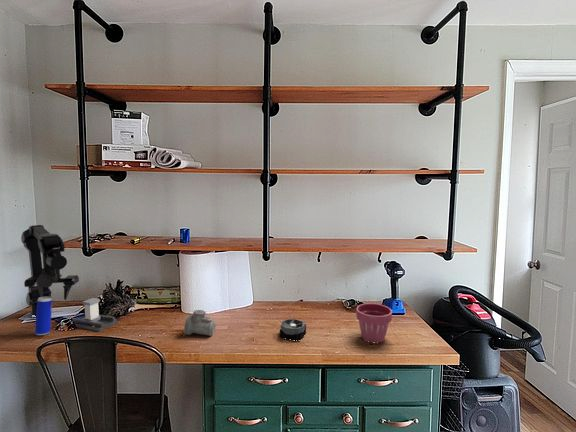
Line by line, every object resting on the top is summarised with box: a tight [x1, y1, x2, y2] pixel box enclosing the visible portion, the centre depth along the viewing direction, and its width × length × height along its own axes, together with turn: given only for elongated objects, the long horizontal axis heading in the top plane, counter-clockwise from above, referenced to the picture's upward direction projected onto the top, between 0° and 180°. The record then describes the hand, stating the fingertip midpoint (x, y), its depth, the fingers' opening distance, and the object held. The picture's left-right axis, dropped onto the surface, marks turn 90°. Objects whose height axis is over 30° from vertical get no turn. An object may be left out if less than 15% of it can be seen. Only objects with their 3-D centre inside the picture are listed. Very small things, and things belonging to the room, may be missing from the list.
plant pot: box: [355, 302, 393, 344], centre depth 144 cm, size 14×14×13 cm
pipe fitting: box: [183, 309, 216, 337], centre depth 147 cm, size 12×8×10 cm
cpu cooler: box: [279, 318, 307, 342], centre depth 147 cm, size 10×6×10 cm
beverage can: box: [34, 296, 53, 336], centre depth 145 cm, size 5×5×15 cm
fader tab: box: [82, 297, 101, 321], centre depth 155 cm, size 5×5×9 cm
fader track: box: [72, 314, 118, 333], centre depth 155 cm, size 16×10×3 cm, turn 73°
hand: (53, 300), depth 148 cm, fingers open, 9 cm apart
